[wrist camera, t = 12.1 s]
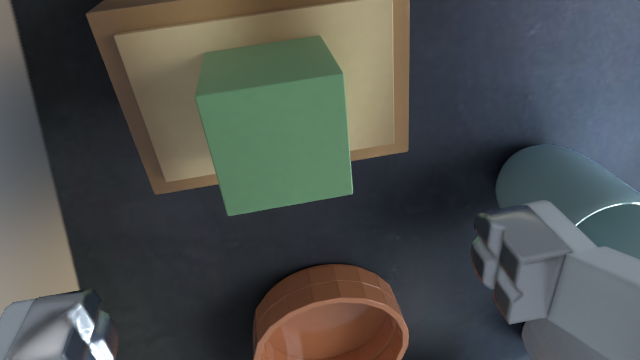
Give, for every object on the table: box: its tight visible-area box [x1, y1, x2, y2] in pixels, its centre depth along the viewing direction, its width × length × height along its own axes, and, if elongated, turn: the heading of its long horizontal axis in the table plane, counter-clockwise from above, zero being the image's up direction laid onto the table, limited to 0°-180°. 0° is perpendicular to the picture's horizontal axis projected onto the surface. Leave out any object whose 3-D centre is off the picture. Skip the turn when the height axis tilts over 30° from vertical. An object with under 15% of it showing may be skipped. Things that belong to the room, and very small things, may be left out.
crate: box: [86, 0, 410, 195], centre depth 23 cm, size 12×8×12 cm, turn 96°
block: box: [195, 35, 353, 216], centre depth 16 cm, size 4×4×4 cm
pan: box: [252, 264, 409, 360], centre depth 42 cm, size 14×14×4 cm
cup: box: [496, 144, 640, 259], centre depth 33 cm, size 8×8×10 cm
